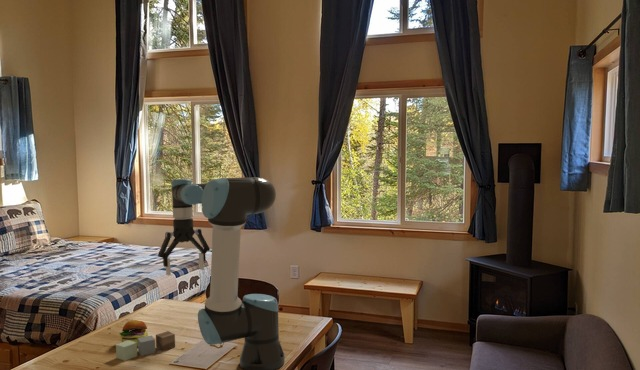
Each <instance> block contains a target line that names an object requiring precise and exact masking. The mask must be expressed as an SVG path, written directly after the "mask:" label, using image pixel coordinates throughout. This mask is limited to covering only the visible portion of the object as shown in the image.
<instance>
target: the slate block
mask: <svg viewBox="0 0 640 370" xmlns="http://www.w3.org/2000/svg"><path fill="white" fill-rule="evenodd" d="M137 353H139V355H140V356H147V355H151V354H155V353H156V338H154V337H153V335H148V336H147V337H142V338H138V346H137Z"/></svg>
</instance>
